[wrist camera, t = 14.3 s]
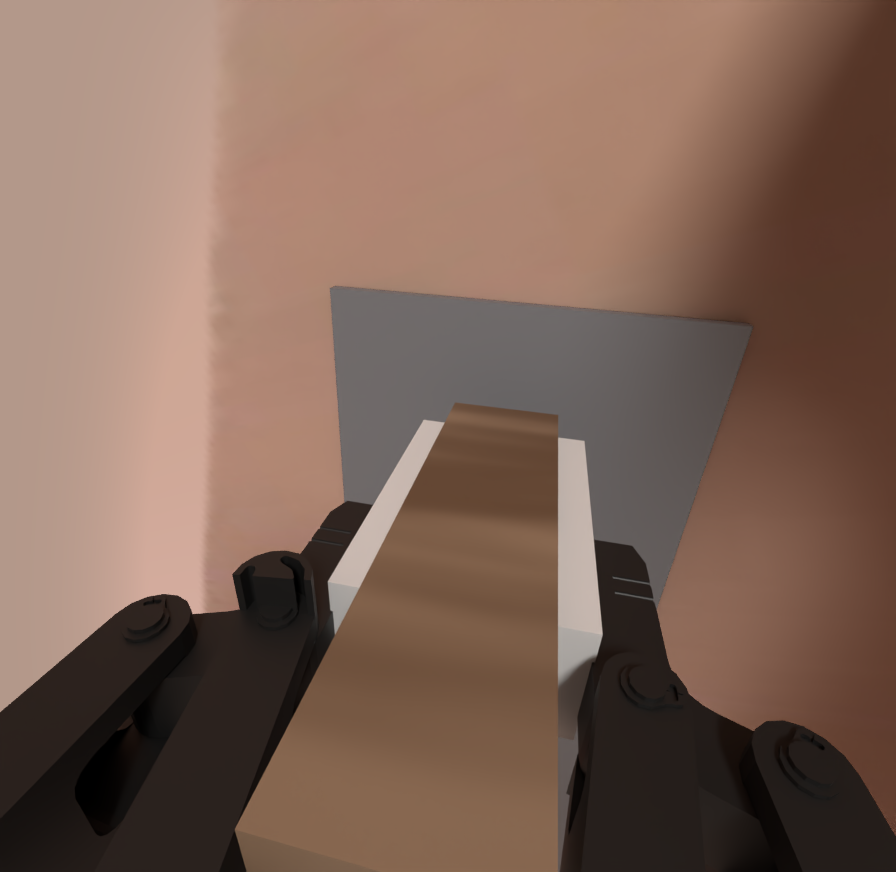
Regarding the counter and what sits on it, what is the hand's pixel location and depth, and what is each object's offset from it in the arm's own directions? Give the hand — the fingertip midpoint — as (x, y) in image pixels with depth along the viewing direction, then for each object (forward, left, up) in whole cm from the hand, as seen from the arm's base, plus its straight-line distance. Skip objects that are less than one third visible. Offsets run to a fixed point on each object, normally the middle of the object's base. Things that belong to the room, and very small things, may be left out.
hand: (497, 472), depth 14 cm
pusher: (+3, 0, -1) cm, 3 cm away
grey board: (+15, 0, -4) cm, 15 cm away
